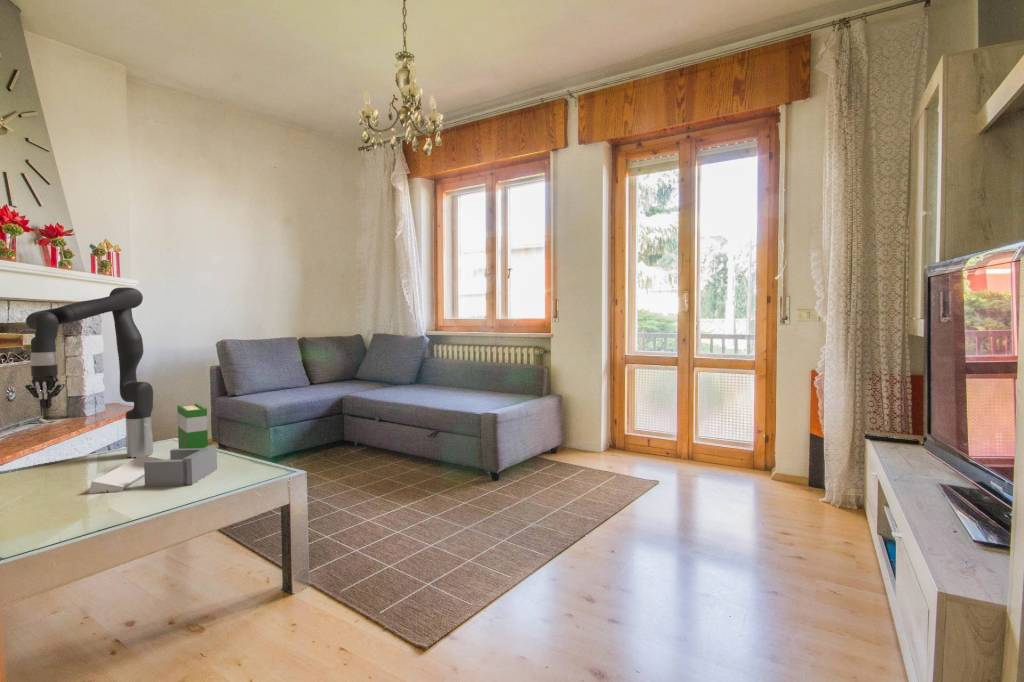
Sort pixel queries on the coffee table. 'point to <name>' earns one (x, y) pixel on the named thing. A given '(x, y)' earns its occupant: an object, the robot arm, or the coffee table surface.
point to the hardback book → (192, 426)
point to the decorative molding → (121, 476)
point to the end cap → (181, 467)
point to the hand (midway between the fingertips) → (46, 408)
